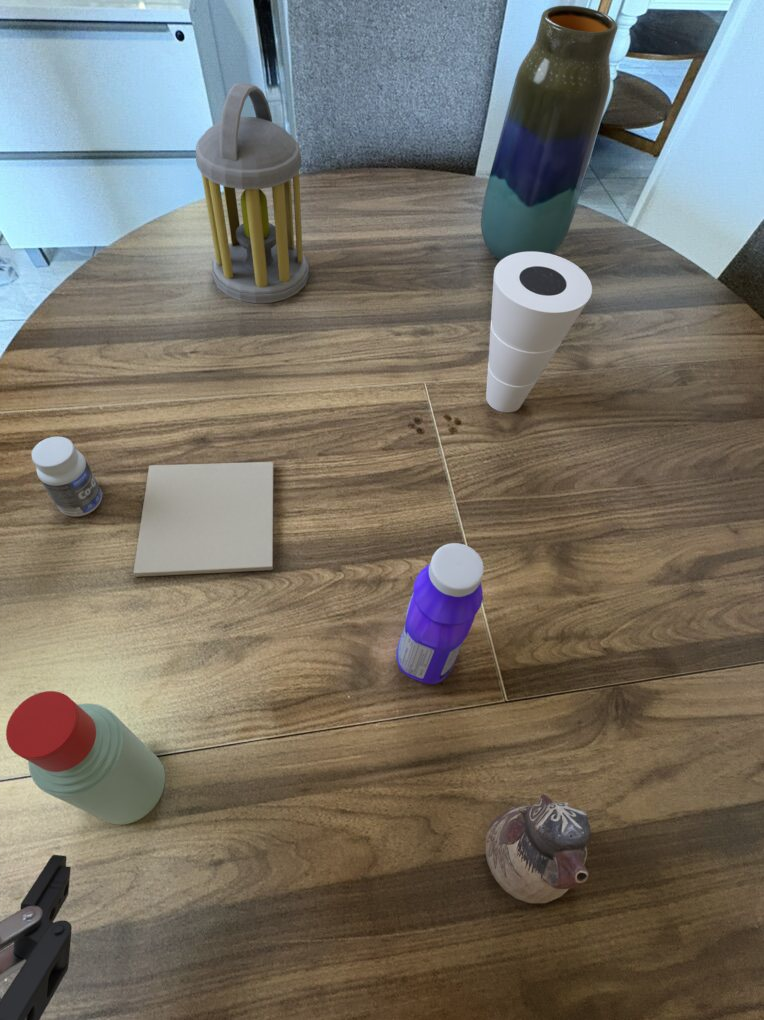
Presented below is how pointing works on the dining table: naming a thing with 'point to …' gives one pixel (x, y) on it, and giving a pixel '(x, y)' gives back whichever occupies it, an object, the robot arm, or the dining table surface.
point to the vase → (548, 133)
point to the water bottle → (108, 774)
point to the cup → (529, 321)
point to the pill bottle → (66, 476)
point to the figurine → (538, 850)
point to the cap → (51, 731)
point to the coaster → (206, 519)
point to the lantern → (253, 201)
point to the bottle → (440, 613)
